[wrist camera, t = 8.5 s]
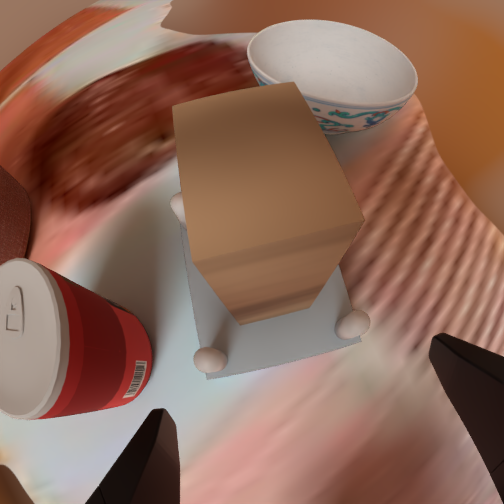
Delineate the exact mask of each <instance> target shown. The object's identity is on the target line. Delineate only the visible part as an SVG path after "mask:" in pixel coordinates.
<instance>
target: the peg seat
mask: <svg viewBox="0 0 504 504" xmlns="http://www.w3.org/2000/svg"><path fill="white" fill-rule="evenodd" d="M170 205H171V208H172V209H173V211H174V213H175V214H176V216H177V218H178V219H179V221H180V226H181V233H182V241H183V248H184V255H185V262H186V269H187V275H188V282H189V288H190V294H191V300H192V306H193V311H194V317H195V323H196V328H197V333H198V339H199V344H200V349H199V350H198V351H197V352H196V353H195V355H194V364H195V366H196V368H197V369H198V370H199V371H201V372H204V373H206V378H207V380H209V379H215V378H220V377H226V376H231V375H236V374H241V373H246V372H251V371H255V370H260V369H264V368H269V367H273V366H277V365H281V364H285V363H289V362H293V361H297V360H301V359H305V358H308V357H312V356H316V355H319V354H323V353H326V352H329V351H333V350H336V349H339V348H343V347H346V346H349V345H352V344H355V343H358V342H361V338H360V335H362V334H364V333H365V332H366V331H367V330H368V329H369V326H370V319H369V316H368V315H367V313H365V312H364V311H362V310H354V311H353V309H352V306H351V303H350V299H349V296H348V293H347V289H346V286H345V283H344V280H343V277H342V274H341V270H340V267H339V264H338V265H337V267H336V269H335V270H334V272H333V273H332V275H331V276H330V278H329V279H328V281H327V282H326V284H325V286H324V287H323V289H322V290H321V292H320V293H319V295H318V296H317V298H316V299H315V301H314V302H313V304H312V305H311V307H310V308H308V309H304V310H300V311H297V312H293V313H289V314H285V315H281V316H277V317H274V318H270V319H266V320H262V321H257V322H253V323H249V324H245V325H241V326H240V325H239V323H238V322H237V321H236V319H235V318H234V317H233V316H232V314H231V313H230V312H229V310H228V309H227V308H226V306H225V305H224V304H223V302H222V301H221V300H220V299H219V297H218V296H217V295H216V293H215V292H214V291H213V289H212V288H211V287H210V285H209V284H208V283H207V281H206V280H205V278H204V277H203V276H202V274H201V273H200V272H199V270H198V269H197V268H196V266H195V265H194V263H193V262H192V257H191V251H190V245H189V239H188V233H187V226H186V220H185V213H184V206H183V199H182V192H180V193H177V194H175V195H174V196H173V197H172V199H171V201H170Z"/></svg>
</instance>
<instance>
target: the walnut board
mask: <svg viewBox="0 0 504 504" xmlns="http://www.w3.org/2000/svg"><path fill="white" fill-rule="evenodd" d="M172 111H173V122H174V132H175V141H176V151H177V159H178V168H179V176H180V184H181V191H182V199H183V206H184V213H185V220H186V226H187V233H188V239H189V245H190V251H191V257H192V262H193V263H194V265H195V266H196V268H197V269H198V270H199V272H200V273H201V274H202V276H203V277H204V278H205V280H206V281H207V283H208V284H209V285H210V287H211V288H212V289H213V291H214V292H215V293H216V295H217V296H218V297H219V299H220V300H221V301H222V302H223V304H224V305H225V306H226V308H227V309H228V310H229V312H230V313H231V314H232V316H233V317H234V318H235V319H236V321H237V322H238V323H239V325H240V326H241V325H245V324H249V323H253V322H257V321H262V320H266V319H270V318H274V317H277V316H281V315H285V314H289V313H293V312H297V311H300V310H304V309H308V308H310V307H311V305H312V304H313V302H314V301H315V299H316V298H317V296H318V295H319V293H320V292H321V290H322V289H323V287H324V286H325V284H326V282H327V281H328V279H329V278H330V276H331V275H332V273H333V272H334V270H335V269H336V267H337V265H338V264H339V262H340V261H341V259H342V257H343V256H344V254H345V253H346V251H347V249H348V248H349V246H350V244H351V243H352V241H353V239H354V238H355V236H356V234H357V233H358V231H359V229H360V228H361V226H362V224H363V223H364V221H365V219H364V216H363V214H362V212H361V209H360V207H359V205H358V202H357V200H356V198H355V196H354V193H353V191H352V189H351V187H350V185H349V183H348V181H347V178H346V176H345V174H344V172H343V170H342V168H341V166H340V164H339V162H338V160H337V158H336V156H335V154H334V152H333V150H332V148H331V146H330V144H329V142H328V140H327V138H326V136H325V135H324V133H323V131H322V129H321V127H320V125H319V124H318V122H317V120H316V118H315V116H314V115H313V113H312V111H311V109H310V107H309V106H308V104H307V102H306V101H305V99H304V97H303V95H302V94H301V92H300V90H299V89H298V87H297V85H296V84H295V82H286V83H279V84H272V85H265V86H259V87H253V88H248V89H242V90H237V91H232V92H227V93H222V94H218V95H213V96H209V97H205V98H201V99H197V100H193V101H189V102H185V103H182V104H178V105H174V106H172Z"/></svg>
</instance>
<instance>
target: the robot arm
mask: <svg viewBox="0 0 504 504" xmlns="http://www.w3.org/2000/svg"><path fill="white" fill-rule="evenodd" d="M429 359H430V361H431V363H432V365H433V367H434V369H435V371H436V374H437V376H438V378H439V380H440V382H441V384H442V386H443V388H444V390H445V392H446V394H447V396H448V398H449V399H450V401H451V403H452V404H453V406H454V408H455V410H456V411H457V413H458V415H459V416H460V418H461V420H462V422H463V423H464V425H465V427H466V429H467V431H468V432H469V434H470V436H471V438H472V440H473V442H474V444H475V445H476V447H477V449H478V451H479V453H480V455H481V457H482V459H483V461H484V463H485V465H486V467H487V469H488V471H489V473H490V476H491V478H492V480H493V482H494V484H495V486H496V488H497V491H498V493H499V495H500V497H501V500H502V502H503V504H504V357H503V356H501V355H498V354H496V353H493V352H491V351H488V350H486V349H483V348H481V347H478V346H476V345H473V344H471V343H468V342H466V341H463V340H461V339H458V338H456V337H453V336H451V335H448V334H446V333H440V334H438V335H435V336H434V337H433V338H432V341H431V346H430V350H429ZM85 504H180V461H179V451H178V441H177V430H176V424H175V422H174V420H173V419H172V418H171V416H170V415H169V413H168V412H167V410H166V409H164V408H160V409H153V410H152V411H151V412H150V413H149V415H148V416H147V418H146V419H145V421H144V422H143V423H142V425H141V426H140V428H139V429H138V431H137V432H136V433H135V435H134V436H133V438H132V439H131V440H130V442H129V443H128V445H127V446H126V448H125V449H124V450H123V452H122V453H121V455H120V456H119V457H118V459H117V460H116V462H115V463H114V464H113V466H112V467H111V469H110V470H109V471H108V473H107V474H106V476H105V477H104V479H103V480H102V481H101V483H100V484H99V486H98V487H97V488H96V490H95V491H94V492H93V494H92V495H91V496H90V498H89V499H88V500H87V502H86V503H85Z"/></svg>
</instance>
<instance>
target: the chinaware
mask: <svg viewBox="0 0 504 504" xmlns="http://www.w3.org/2000/svg"><path fill="white" fill-rule="evenodd" d="M247 55H248V60H249V63H250V66H251V68H252V71H253V73H254V75H255V78H256V80H257V81H258V83H259V85H260V86H265V85H272V84H279V83H286V82H295V84H296V85H297V87H298V89H299V90H300V92H301V94H302V95H303V97H304V99H305V101H306V102H307V104H308V106H309V107H310V109H311V111H312V113H313V115H314V116H315V118H316V120H317V122H318V124H319V125H320V127H321V129H322V131H323V133H324V134H341V133H345V132H352V131H359V130H364V129H367V128H370V127H373V126H376V125H378V124H380V123H382V122H384V121H386V120H387V119H389V118H390V117H392V116H393V115H394V114H395V113H397V112H398V111H399V110H400V109H401V108H402V107H403V106H404V105H405V104H406V103H407V101H408V100H409V99H410V97H411V96H412V95H413V93H414V91H415V90H416V87H417V84H418V77H417V73H416V70H415V68H414V66H413V65H412V63H411V62H410V61H409V59H408V58H407V57H406V56H405V55H404V54H403V53H402V52H401V51H400V50H399V49H398V48H396V47H395V46H394V45H392V44H391V43H389V42H388V41H386V40H385V39H382V38H381V37H379V36H377V35H375V34H373V33H371V32H368V31H366V30H363V29H360V28H358V27H354V26H351V25H347V24H343V23H338V22H333V21H325V20H296V21H288V22H283V23H279V24H275V25H273V26H270V27H268V28H266V29H263V30H262V31H260V32H259V33H257V34H256V35H255V36H254V37H253V38H252V39H251V41H250V42H249V45H248V48H247Z"/></svg>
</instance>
